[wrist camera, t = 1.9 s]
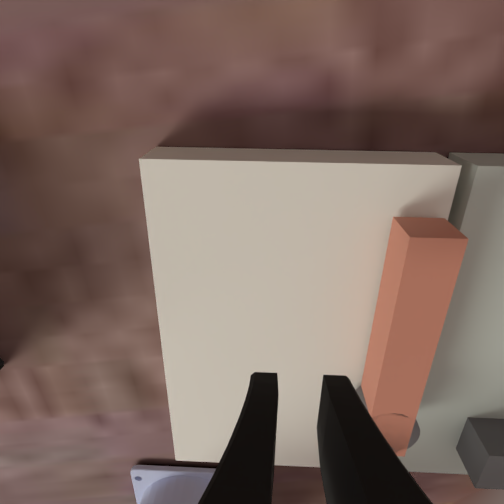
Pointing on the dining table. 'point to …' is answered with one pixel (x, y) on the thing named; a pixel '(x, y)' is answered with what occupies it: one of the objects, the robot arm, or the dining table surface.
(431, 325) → the bar
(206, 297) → the pale square platform
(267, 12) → the dining table surface
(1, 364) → the ammunition clip
